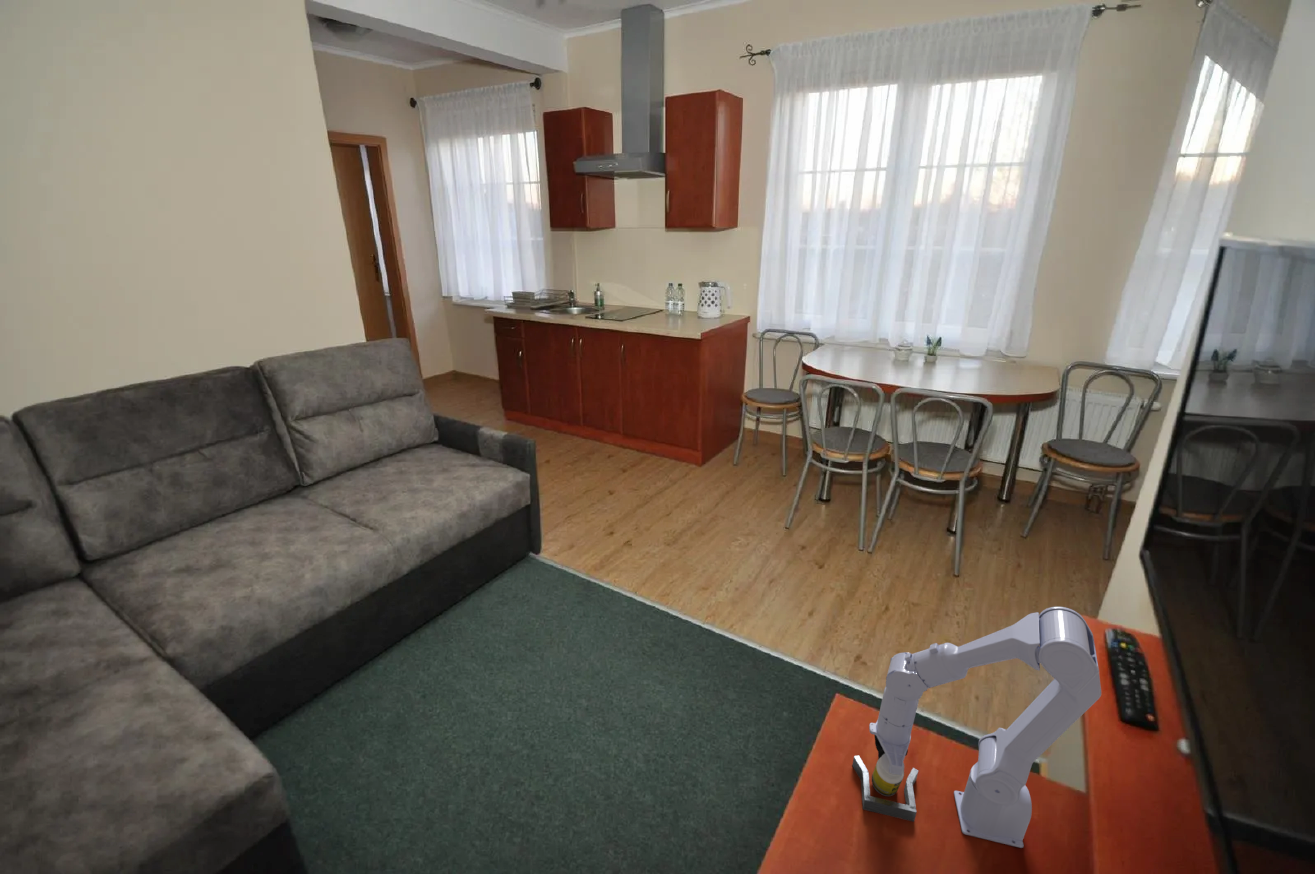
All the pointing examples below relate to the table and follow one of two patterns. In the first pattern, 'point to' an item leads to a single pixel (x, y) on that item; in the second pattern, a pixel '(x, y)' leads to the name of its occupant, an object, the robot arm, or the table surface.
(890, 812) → the u holder
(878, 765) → the supplement bottle
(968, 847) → the table surface
